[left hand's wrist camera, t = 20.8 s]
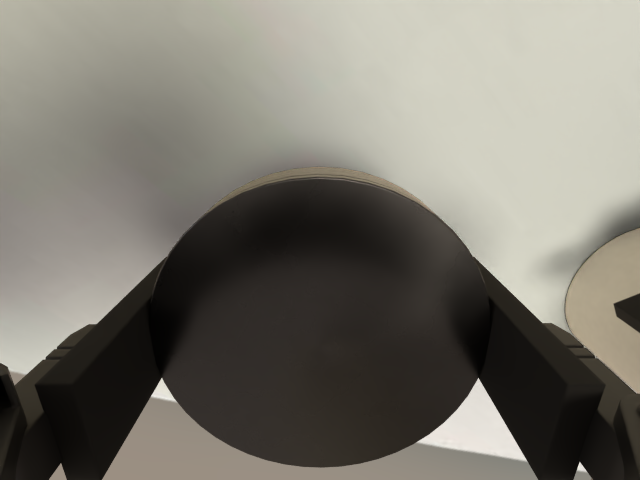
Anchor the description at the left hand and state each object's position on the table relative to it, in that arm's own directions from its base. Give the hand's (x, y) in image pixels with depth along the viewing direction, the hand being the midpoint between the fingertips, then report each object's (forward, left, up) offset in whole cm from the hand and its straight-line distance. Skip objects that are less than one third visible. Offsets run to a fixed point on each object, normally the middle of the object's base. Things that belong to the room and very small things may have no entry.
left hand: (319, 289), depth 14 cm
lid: (0, 0, +3) cm, 3 cm away
